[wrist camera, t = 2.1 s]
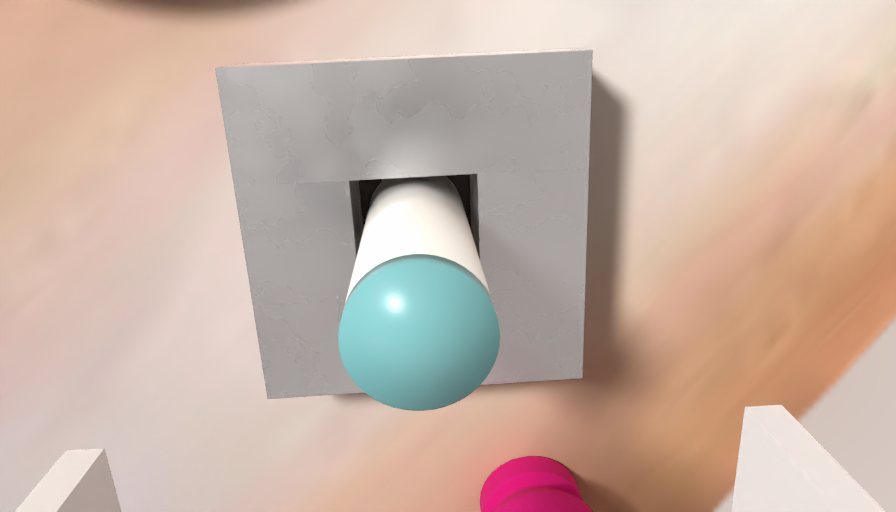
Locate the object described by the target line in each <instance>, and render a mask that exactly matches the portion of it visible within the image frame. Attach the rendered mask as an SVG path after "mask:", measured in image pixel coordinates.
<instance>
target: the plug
mask: <svg viewBox="0 0 896 512" xmlns="http://www.w3.org/2000/svg"><path fill="white" fill-rule="evenodd" d="M338 345H339V351H340V356H341V359H342V362H343V365H344V367H345V369H346V371H347V373H348V374H349V376H350V377H351V378H352V380H353V381H354V382H355V383H356V385H357V386H358V387H359V388H360V389H361V390H363V391H364V392H365V393H366V394H367V395H369V396H371V397H372V398H374V399H375V400H377V401H379V402H381V403H383V404H386V405H388V406H391V407H394V408H399V409H403V410H413V411H425V410H433V409H438V408H442V407H445V406H448V405H451V404H453V403H455V402H457V401H459V400H461V399H463V398H465V397H466V396H468V395H469V394H471V393H472V392H473V391H474V390H475V389H477V388H478V387H479V386H480V385H481V383H482V382H483V381H484V380H485V379H486V377H487V376H488V374H489V373H490V371H491V370H492V368H493V366H494V364H495V361H496V358H497V355H498V351H499V346H500V329H499V323H498V319H497V315H496V312H495V309H494V305H493V302H492V299H491V295H490V292H489V289H488V285H487V282H486V279H485V276H484V272H483V269H482V266H481V262H480V259H479V256H478V252H477V249H476V246H475V243H474V239H473V236H472V233H471V229H470V226H469V223H468V219H467V216H466V213H465V210H464V206H463V203H462V200H461V197H460V194H459V192H458V190H457V189H456V187H455V186H454V184H453V183H452V182H451V181H450V180H449V179H448V178H447V177H446V176H427V177H408V178H390V179H383V180H382V181H381V182H380V184H379V185H378V186H377V188H376V190H375V191H374V193H373V196H372V198H371V202H370V206H369V210H368V214H367V218H366V222H365V226H364V230H363V234H362V238H361V242H360V246H359V250H358V254H357V258H356V262H355V266H354V270H353V274H352V278H351V282H350V286H349V290H348V294H347V298H346V302H345V306H344V310H343V314H342V318H341V322H340V326H339V333H338Z"/></svg>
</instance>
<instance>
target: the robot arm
mask: <svg viewBox="0 0 896 512" xmlns="http://www.w3.org/2000/svg"><path fill="white" fill-rule="evenodd" d="M15 512H121V509H120V505H119V501H118V497H117V494H116V490H115V486H114V482H113V479H112V475H111V471H110V468H109V464H108V460H107V456H106V453H105V449H104V448H100V449H85V450H69V451H65V452H64V453H63V455H62V456H61V457H60V458H59V459H58V460H57V462H56V463H55V464H54V465H53V466H52V468H51V469H50V470H49V471H48V472H47V474H46V475H45V476H44V477H43V478H42V480H41V481H40V482H39V483H38V484H37V485H36V487H35V488H34V489H33V490H32V491H31V493H30V494H29V495H28V496H27V497H26V499H25V500H24V501H23V502H22V503H21V505H20V506H19V507H18V508H17V509H16V510H15ZM731 512H886V511H885V510H884V509H883V508H882V507H881V506H880V505H879V504H878V503H877V502H876V501H875V500H874V499H873V498H872V497H871V496H870V495H869V494H868V493H867V492H866V491H865V489H864V488H862V486H860V484H859V483H858V482H856V480H855V479H854V478H853V477H852V476H851V475H850V474H849V473H848V472H847V471H846V470H845V469H844V468H843V467H842V466H841V465H840V464H839V463H838V462H837V461H836V460H835V459H834V458H833V457H832V456H831V455H830V454H829V453H828V452H827V451H826V450H825V449H824V448H823V447H822V446H821V445H820V444H819V443H818V442H817V441H816V440H815V439H814V438H813V437H812V436H811V435H810V434H809V432H807V430H806V429H805V428H804V427H803V426H802V425H801V424H800V423H799V422H798V421H797V420H796V419H795V418H794V417H793V416H792V415H791V414H790V413H789V412H788V411H787V410H786V409H785V408H784V407H783V406H782V405H770V406H754V407H745V412H744V419H743V427H742V434H741V442H740V449H739V457H738V464H737V472H736V479H735V487H734V494H733V502H732V509H731Z"/></svg>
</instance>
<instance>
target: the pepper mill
mask: <svg viewBox="0 0 896 512" xmlns="http://www.w3.org/2000/svg"><path fill="white" fill-rule="evenodd" d="M480 507H481V512H593V511H592V510H591V509H590V508H589V507H588V506H587V505H586V504H585V503H584V502H583V501H582V498H581V495H580V492H579V489H578V487H577V484H576V482H575V479H574V478H573V476H572V474H571V473H570V472H569V471H568V470H567V469H566V468H565V467H564V466H563V465H561V464H560V463H558V462H556V461H554V460H551V459H549V458H544V457H536V456H527V457H522V458H518V459H513V460H511V461H509V462H507V463H505V464H503V465H501V466H500V467H498V468H497V469H496V470H495V471H494V472H492V473H491V475H490V476H489V477H488V478H487V480H486V482H485V483H484V485H483V488H482V491H481V496H480Z"/></svg>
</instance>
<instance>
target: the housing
mask: <svg viewBox="0 0 896 512" xmlns="http://www.w3.org/2000/svg"><path fill="white" fill-rule="evenodd" d="M592 54H593V50H585V49H571V48H563V49H541V50H520V51H499V52H477V53H456V54H435V55H413V56H392V57H371V58H349V59H328V60H307V61H285V62H264V63H242V64H236V65H230V66H223V67H217V68H215V70H216V76H217V82H218V89H219V95H220V101H221V108H222V114H223V120H224V127H225V133H226V139H227V146H228V152H229V158H230V164H231V171H232V177H233V183H234V190H235V196H236V202H237V209H238V215H239V221H240V228H241V234H242V240H243V247H244V253H245V259H246V265H247V272H248V278H249V284H250V291H251V297H252V303H253V310H254V316H255V322H256V329H257V335H258V341H259V348H260V354H261V360H262V367H263V373H264V379H265V385H266V392H267V398H268V399H276V398H291V397H306V396H321V395H336V394H351V393H365V392H364V391H363V390H361V389H360V388H359V387H358V386H357V385H356V383H355V382H354V381H353V380H352V378H351V377H350V376H349V374H348V373H347V371H346V369H345V367H344V365H343V362H342V359H341V356H340V351H339V345H338V333H339V326H340V322H341V318H342V314H343V310H344V306H345V302H346V298H347V294H348V290H349V286H350V282H351V278H352V274H353V270H354V266H355V262H356V258H357V254H358V250H359V246H360V242H361V238H362V234H363V222H362V211H361V200H360V189H359V180H371V179H390V178H408V177H427V176H445V175H464V174H470V204H471V233H472V236H473V239H474V243H475V246H476V249H477V252H478V256H479V259H480V262H481V266H482V269H483V272H484V276H485V279H486V282H487V285H488V289H489V292H490V295H491V299H492V302H493V305H494V309H495V312H496V315H497V319H498V323H499V329H500V346H499V351H498V355H497V358H496V361H495V364H494V366H493V368H492V370H491V371H490V373H489V374H488V376H487V377H486V379H485V380H484V381H483V382H482V383H481V385H487V384H502V383H517V382H532V381H547V380H562V379H578V378H582V377H583V345H584V312H585V280H586V248H587V216H588V183H589V151H590V119H591V87H592Z"/></svg>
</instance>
